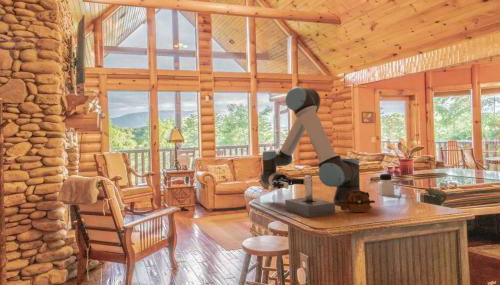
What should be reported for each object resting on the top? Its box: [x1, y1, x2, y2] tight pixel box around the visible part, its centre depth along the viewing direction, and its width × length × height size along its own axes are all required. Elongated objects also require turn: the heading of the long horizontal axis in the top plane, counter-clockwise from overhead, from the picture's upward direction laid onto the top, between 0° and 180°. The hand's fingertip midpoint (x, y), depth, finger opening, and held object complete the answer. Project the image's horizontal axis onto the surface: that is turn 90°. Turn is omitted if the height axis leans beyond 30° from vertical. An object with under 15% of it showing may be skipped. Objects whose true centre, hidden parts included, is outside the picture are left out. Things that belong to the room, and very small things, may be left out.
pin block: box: [285, 197, 336, 219], centre depth 175 cm, size 20×14×5 cm
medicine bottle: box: [377, 173, 395, 197], centre depth 217 cm, size 7×7×12 cm
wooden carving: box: [338, 190, 376, 213], centre depth 171 cm, size 16×5×10 cm, turn 87°
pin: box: [304, 174, 314, 203], centre depth 175 cm, size 3×3×16 cm
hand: (300, 184), depth 181 cm, fingers open, 13 cm apart
